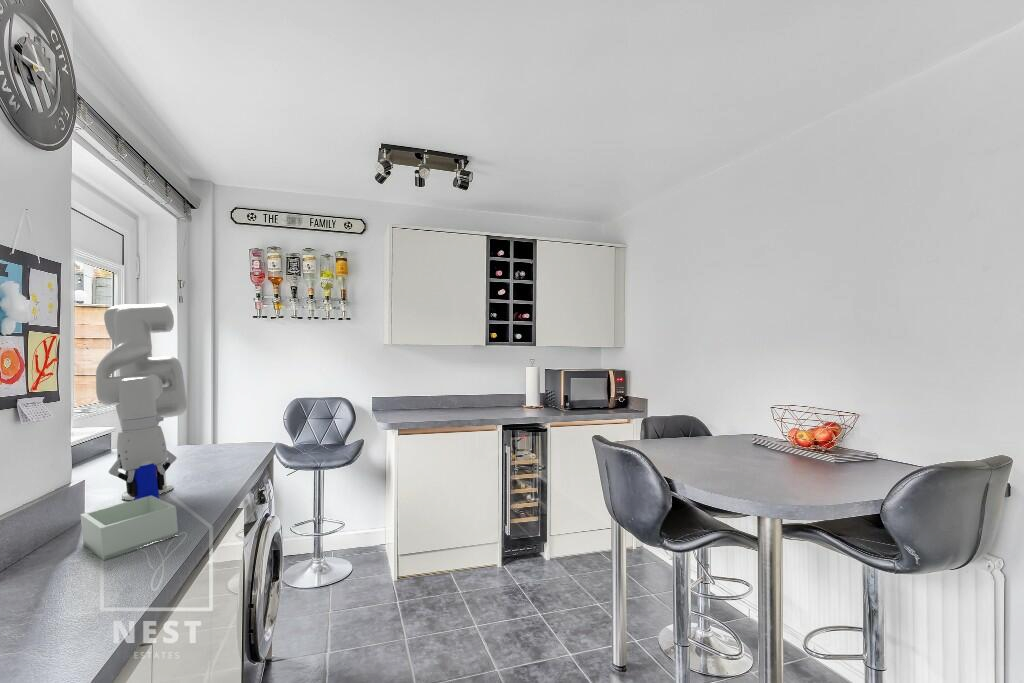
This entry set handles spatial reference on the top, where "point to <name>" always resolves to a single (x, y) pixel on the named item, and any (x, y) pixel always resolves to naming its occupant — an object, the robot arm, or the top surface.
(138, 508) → the crate
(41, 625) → the top surface
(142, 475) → the beverage can
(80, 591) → the top surface
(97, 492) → the top surface
